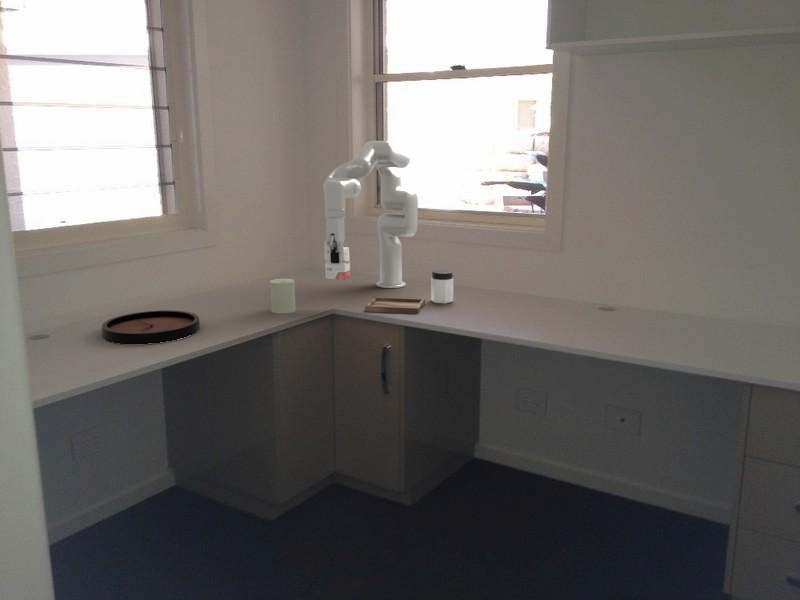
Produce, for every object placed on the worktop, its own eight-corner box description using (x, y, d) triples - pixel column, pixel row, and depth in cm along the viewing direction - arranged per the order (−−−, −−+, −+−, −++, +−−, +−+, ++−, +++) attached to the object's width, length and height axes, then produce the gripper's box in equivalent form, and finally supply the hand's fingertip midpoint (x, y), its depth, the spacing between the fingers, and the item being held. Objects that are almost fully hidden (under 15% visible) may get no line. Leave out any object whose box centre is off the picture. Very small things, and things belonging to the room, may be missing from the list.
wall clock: (203, 328, 239) (100, 337, 228) (204, 339, 240) (101, 350, 229) (194, 307, 267) (102, 314, 256) (195, 317, 268) (103, 326, 257)
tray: (375, 301, 290) (374, 297, 290) (424, 303, 286) (424, 298, 286) (365, 311, 275) (365, 306, 274) (418, 313, 271) (418, 308, 271)
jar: (441, 304, 285) (442, 274, 282) (426, 301, 291) (427, 271, 288) (457, 300, 291) (457, 271, 288) (442, 297, 297) (442, 268, 294)
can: (273, 314, 271) (271, 282, 268) (269, 309, 279) (267, 278, 277) (297, 312, 274) (296, 281, 271) (293, 307, 282) (292, 276, 280)
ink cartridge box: (350, 277, 279) (349, 239, 276) (345, 279, 275) (343, 241, 271) (330, 275, 283) (329, 238, 279) (324, 278, 278) (323, 240, 275)
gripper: (332, 210, 282) (333, 256, 286) (319, 216, 265) (321, 265, 270) (351, 210, 280) (352, 257, 285) (339, 217, 264) (340, 266, 268)
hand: (337, 260), depth 277 cm, fingers closed on ink cartridge box, 5 cm apart
